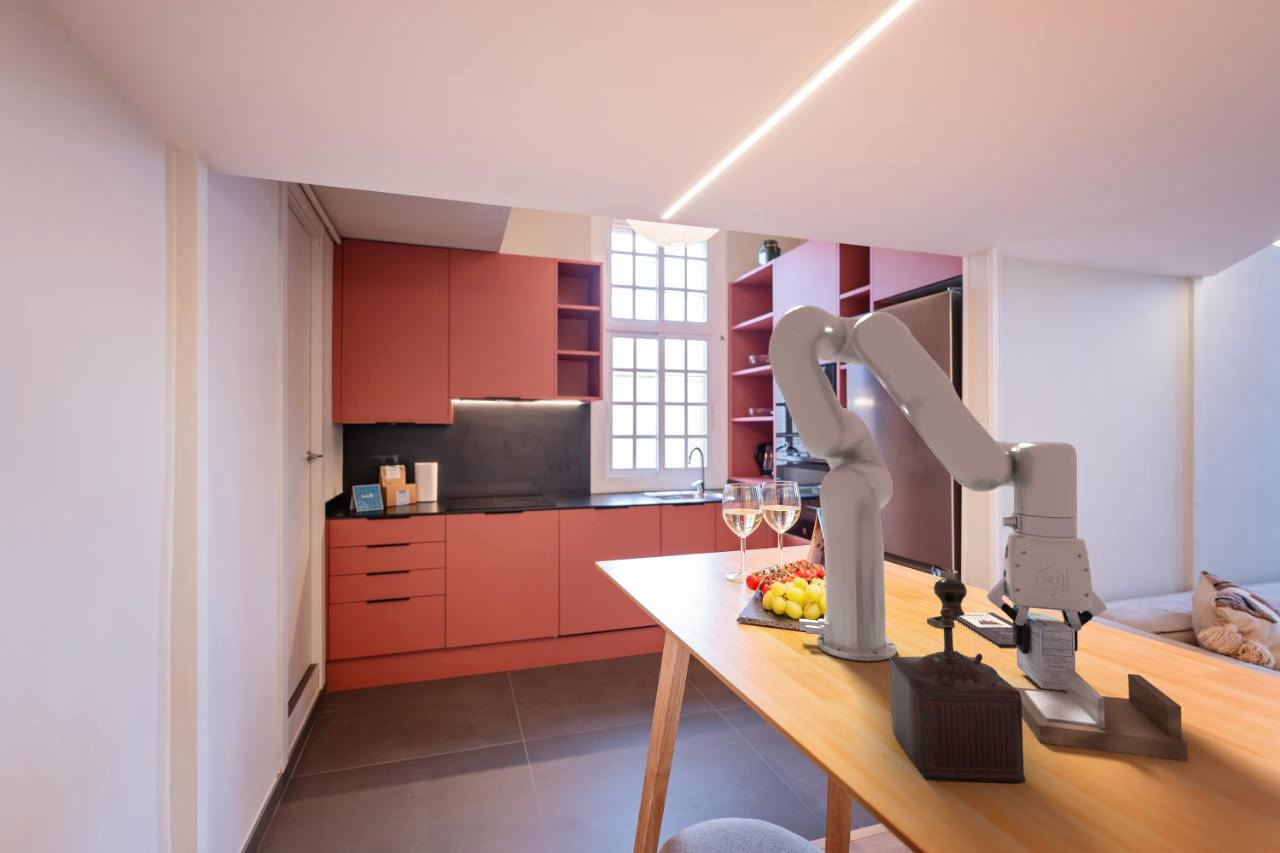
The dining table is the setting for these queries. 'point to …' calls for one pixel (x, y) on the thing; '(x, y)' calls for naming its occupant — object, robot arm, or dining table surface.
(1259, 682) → the dining table surface
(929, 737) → the brown coffee grinder
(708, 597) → the dining table surface
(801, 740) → the dining table surface
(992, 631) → the chocolate bar
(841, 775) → the dining table surface
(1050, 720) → the brown holder stand
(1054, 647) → the medicine box
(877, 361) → the robot arm
